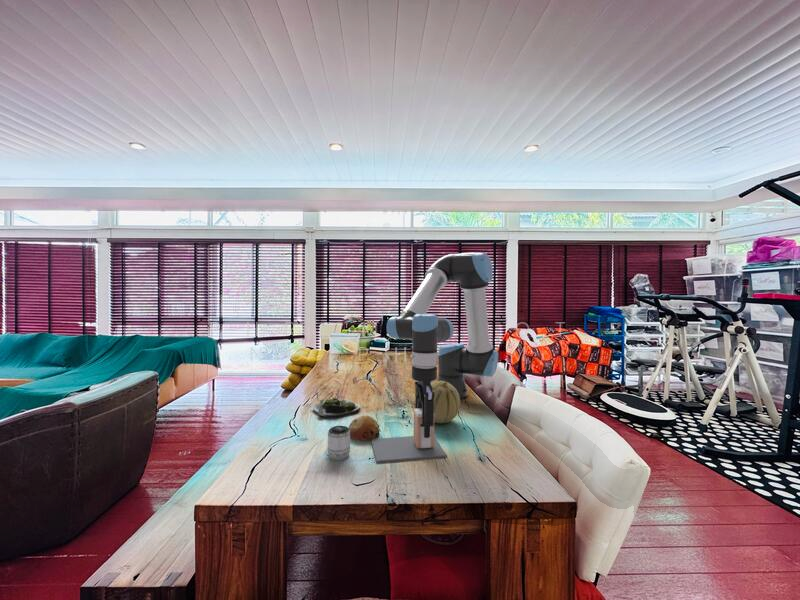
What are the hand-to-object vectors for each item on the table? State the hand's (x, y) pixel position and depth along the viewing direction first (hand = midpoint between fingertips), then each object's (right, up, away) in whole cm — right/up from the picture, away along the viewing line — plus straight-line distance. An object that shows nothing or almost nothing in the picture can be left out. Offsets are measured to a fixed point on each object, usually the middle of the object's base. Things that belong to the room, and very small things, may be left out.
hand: (423, 442), depth 102 cm
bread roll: (-18, -1, +8) cm, 20 cm away
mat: (-5, -1, -1) cm, 5 cm away
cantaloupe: (+7, -1, +21) cm, 22 cm away
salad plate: (-32, -1, +31) cm, 45 cm away
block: (0, 0, 0) cm, 0 cm away
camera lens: (-24, -1, -6) cm, 25 cm away
